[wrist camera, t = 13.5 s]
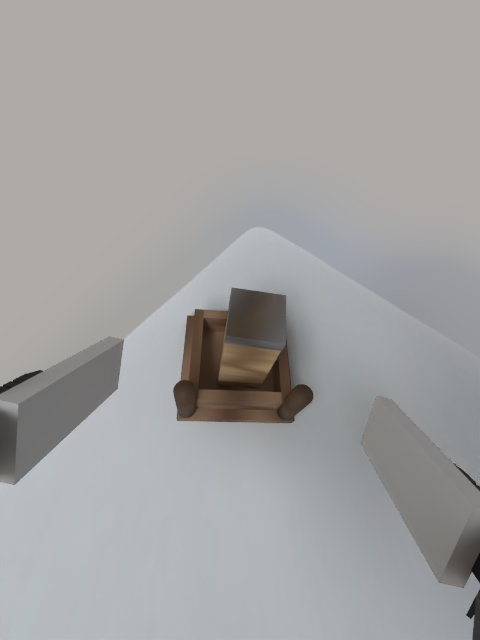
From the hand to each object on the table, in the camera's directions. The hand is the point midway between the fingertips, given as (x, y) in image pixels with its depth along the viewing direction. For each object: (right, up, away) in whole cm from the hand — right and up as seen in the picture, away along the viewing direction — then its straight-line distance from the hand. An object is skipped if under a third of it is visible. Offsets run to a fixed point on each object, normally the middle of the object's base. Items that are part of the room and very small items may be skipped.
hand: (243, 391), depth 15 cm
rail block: (0, -2, +17) cm, 18 cm away
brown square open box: (-1, -2, +19) cm, 19 cm away
